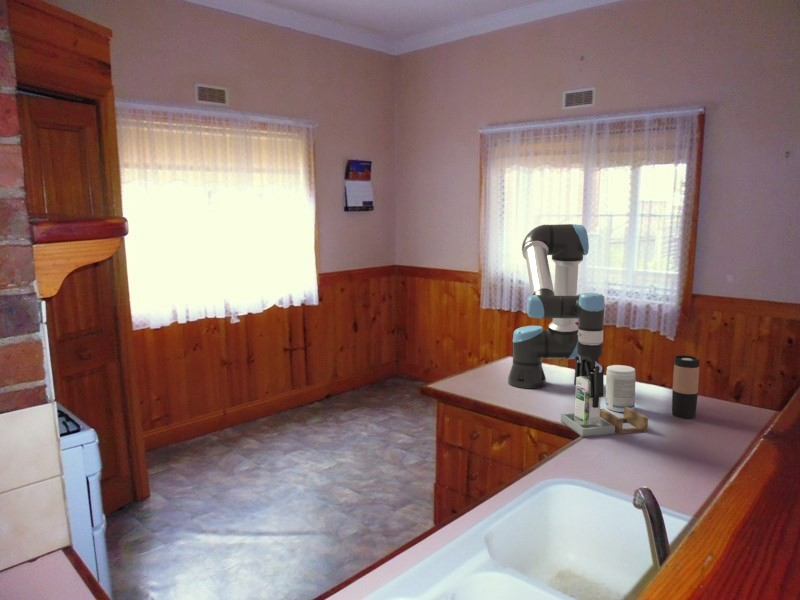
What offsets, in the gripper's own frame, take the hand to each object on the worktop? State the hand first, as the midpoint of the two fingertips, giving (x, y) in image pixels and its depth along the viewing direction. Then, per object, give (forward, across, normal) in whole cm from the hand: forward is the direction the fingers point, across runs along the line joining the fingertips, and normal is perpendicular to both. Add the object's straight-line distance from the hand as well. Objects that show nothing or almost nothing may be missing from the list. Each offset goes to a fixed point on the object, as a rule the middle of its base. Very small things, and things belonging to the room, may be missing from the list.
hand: (587, 412), depth 178 cm
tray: (+5, 0, 0) cm, 5 cm away
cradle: (+5, +2, +12) cm, 13 cm away
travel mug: (+5, -3, +38) cm, 38 cm away
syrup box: (+3, 0, 0) cm, 3 cm away
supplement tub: (+5, -14, +20) cm, 25 cm away
